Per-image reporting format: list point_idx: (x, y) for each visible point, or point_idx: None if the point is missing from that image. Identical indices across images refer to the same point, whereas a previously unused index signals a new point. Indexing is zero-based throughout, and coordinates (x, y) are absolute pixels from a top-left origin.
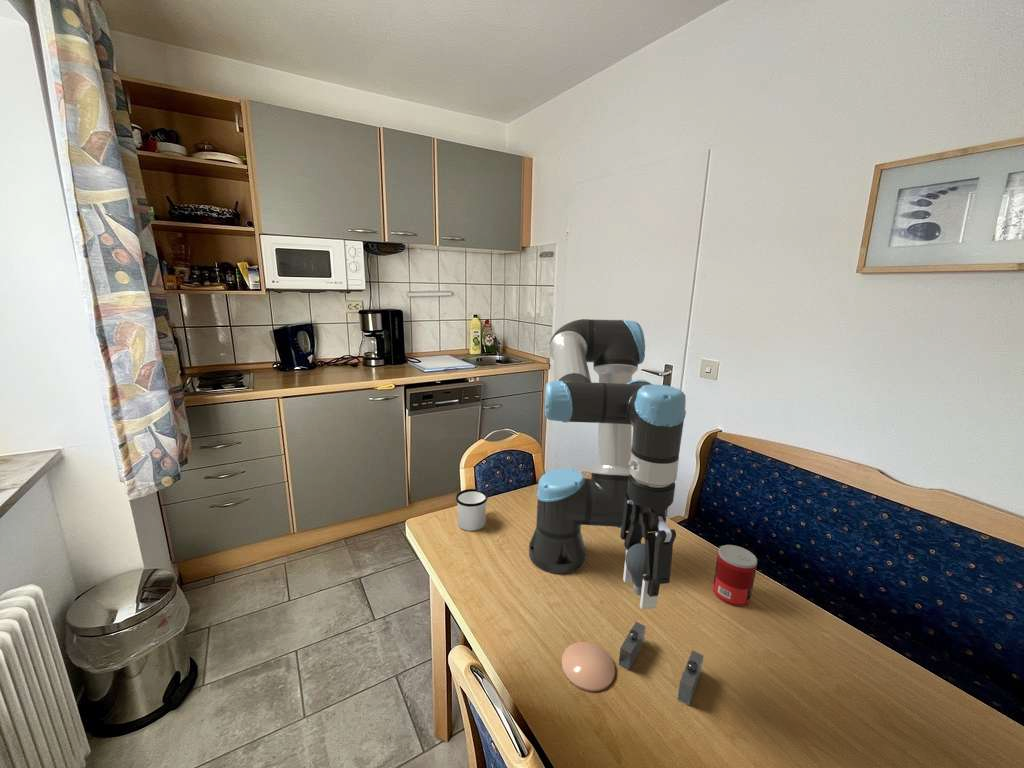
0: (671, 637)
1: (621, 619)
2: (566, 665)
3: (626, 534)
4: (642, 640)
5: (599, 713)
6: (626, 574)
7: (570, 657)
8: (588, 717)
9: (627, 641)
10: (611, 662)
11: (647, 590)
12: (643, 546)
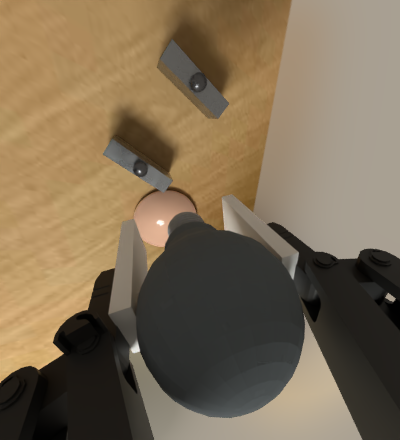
0: (92, 72)
1: (69, 160)
2: None
3: (50, 433)
4: (123, 142)
5: (217, 212)
6: (146, 266)
7: (158, 238)
8: (220, 222)
9: (151, 180)
10: (162, 194)
11: None
12: (252, 408)
